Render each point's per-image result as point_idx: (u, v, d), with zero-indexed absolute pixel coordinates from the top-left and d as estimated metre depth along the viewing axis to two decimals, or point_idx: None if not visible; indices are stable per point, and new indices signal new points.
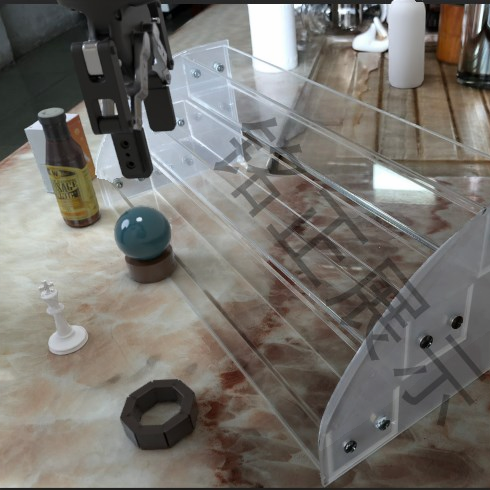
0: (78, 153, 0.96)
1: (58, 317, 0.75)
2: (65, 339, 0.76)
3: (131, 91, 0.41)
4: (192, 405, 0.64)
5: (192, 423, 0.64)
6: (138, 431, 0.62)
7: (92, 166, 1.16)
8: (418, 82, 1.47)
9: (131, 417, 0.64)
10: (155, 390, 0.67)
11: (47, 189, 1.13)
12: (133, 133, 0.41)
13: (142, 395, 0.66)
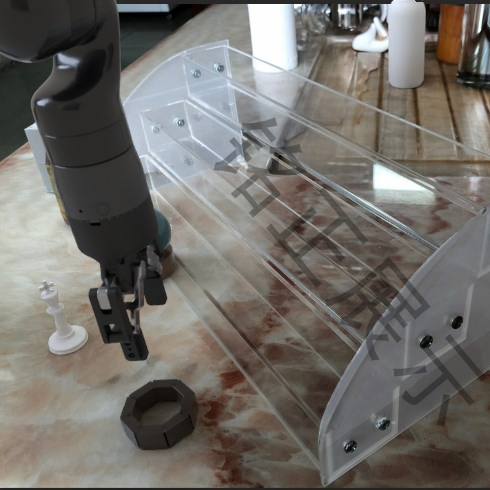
0: None
1: (58, 317, 0.75)
2: (65, 339, 0.76)
3: (131, 307, 0.56)
4: (192, 405, 0.64)
5: (192, 423, 0.64)
6: (138, 431, 0.62)
7: None
8: (418, 82, 1.47)
9: (131, 417, 0.64)
10: (155, 390, 0.67)
11: (47, 189, 1.13)
12: (133, 335, 0.56)
13: (142, 395, 0.66)
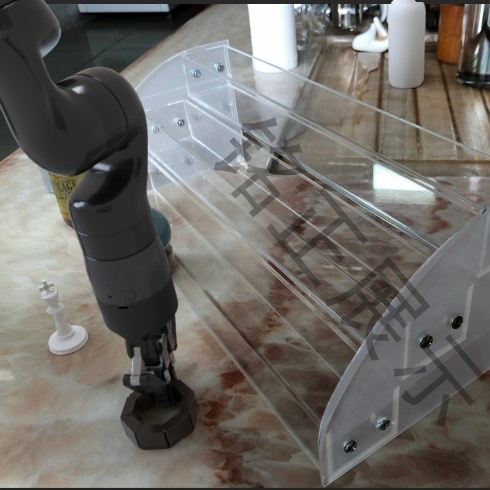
0: None
1: (58, 317, 0.75)
2: (65, 339, 0.76)
3: (160, 370, 0.63)
4: (192, 405, 0.65)
5: (193, 423, 0.64)
6: (138, 431, 0.62)
7: None
8: (418, 82, 1.47)
9: (131, 416, 0.64)
10: None
11: (47, 189, 1.13)
12: None
13: (142, 395, 0.66)
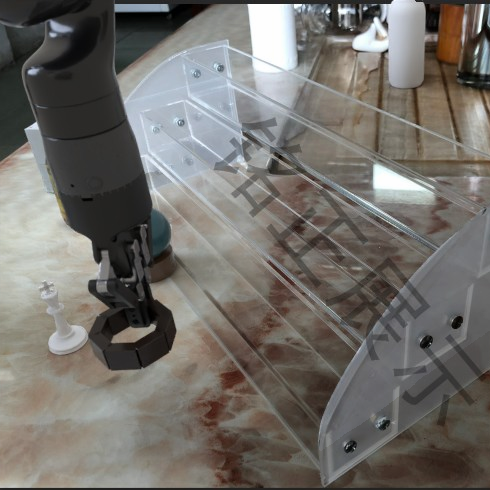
0: None
1: (58, 317, 0.75)
2: (65, 339, 0.76)
3: (133, 282, 0.57)
4: (169, 324, 0.58)
5: (169, 344, 0.58)
6: (107, 348, 0.55)
7: None
8: (418, 82, 1.47)
9: (100, 335, 0.57)
10: None
11: (47, 189, 1.13)
12: None
13: (113, 315, 0.59)
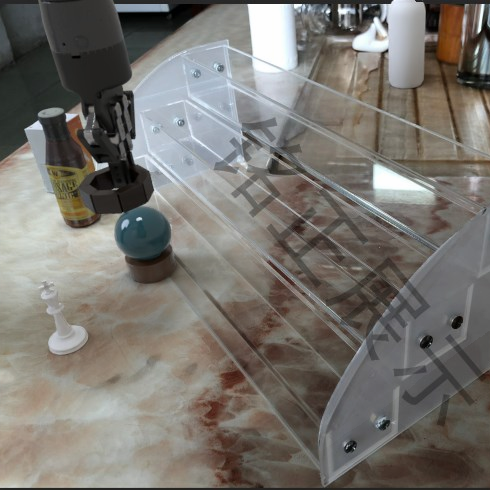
0: (78, 153, 0.96)
1: (58, 317, 0.75)
2: (65, 339, 0.76)
3: (116, 142, 0.68)
4: (146, 179, 0.69)
5: (146, 195, 0.69)
6: (94, 193, 0.66)
7: (92, 165, 1.16)
8: (418, 82, 1.47)
9: (88, 186, 0.68)
10: None
11: (47, 189, 1.13)
12: (120, 161, 0.69)
13: (101, 174, 0.70)
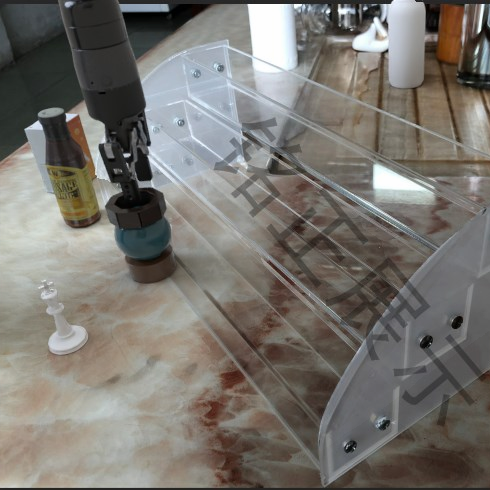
0: (78, 153, 0.96)
1: (58, 317, 0.75)
2: (65, 339, 0.76)
3: (129, 161, 0.80)
4: (161, 199, 0.84)
5: (161, 213, 0.83)
6: (118, 211, 0.81)
7: (92, 166, 1.16)
8: (418, 82, 1.47)
9: (113, 206, 0.83)
10: None
11: (47, 189, 1.13)
12: (131, 181, 0.81)
13: (122, 196, 0.85)
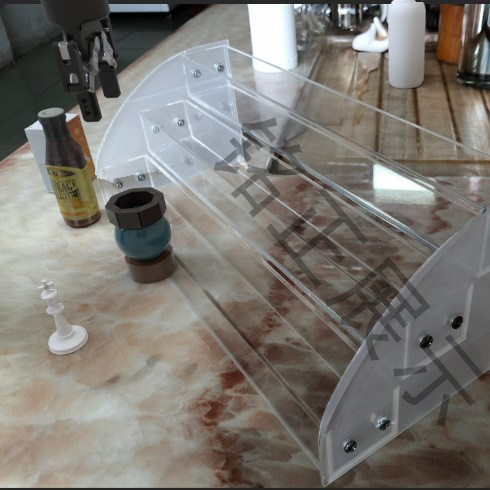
0: (78, 153, 0.96)
1: (58, 317, 0.75)
2: (65, 339, 0.76)
3: (87, 70, 0.72)
4: (161, 199, 0.84)
5: (161, 213, 0.83)
6: (118, 211, 0.81)
7: (92, 166, 1.16)
8: (418, 82, 1.47)
9: (113, 206, 0.83)
10: (133, 194, 0.86)
11: (47, 189, 1.13)
12: (89, 94, 0.73)
13: (122, 196, 0.85)
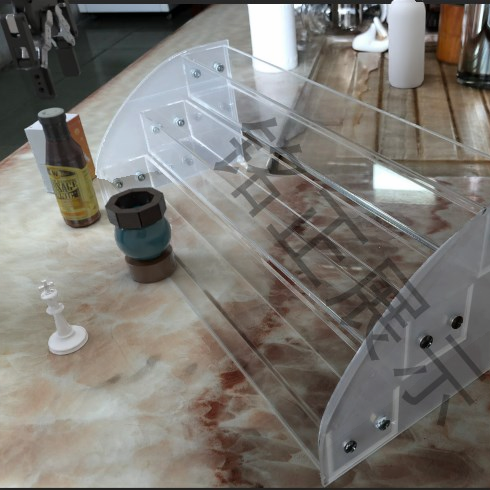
0: (78, 153, 0.96)
1: (58, 317, 0.75)
2: (65, 339, 0.76)
3: (39, 44, 0.69)
4: (161, 199, 0.84)
5: (161, 213, 0.83)
6: (118, 211, 0.81)
7: (92, 166, 1.16)
8: (418, 82, 1.47)
9: (113, 206, 0.83)
10: (133, 194, 0.86)
11: (47, 189, 1.13)
12: (41, 70, 0.70)
13: (122, 196, 0.85)
